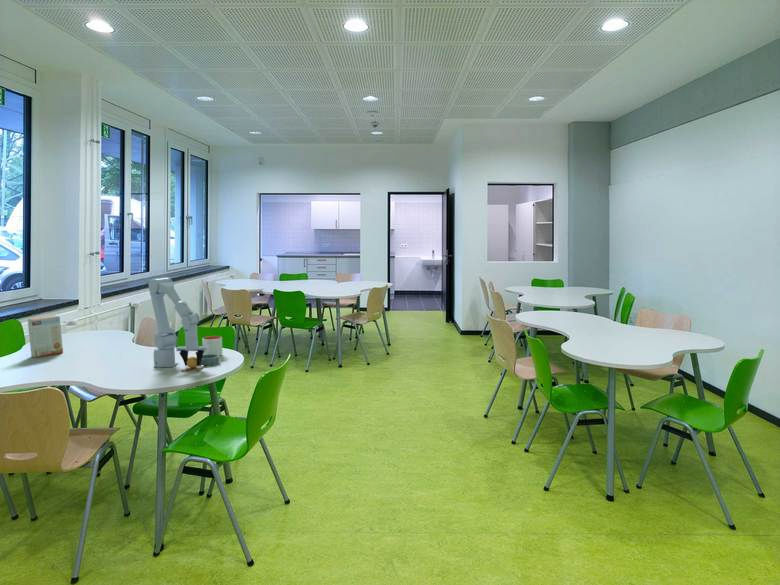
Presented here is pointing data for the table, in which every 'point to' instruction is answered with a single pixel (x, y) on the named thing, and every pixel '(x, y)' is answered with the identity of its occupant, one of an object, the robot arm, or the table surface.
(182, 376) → the table surface
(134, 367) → the table surface
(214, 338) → the cup
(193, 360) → the ball
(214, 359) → the bowl
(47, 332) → the cracker box
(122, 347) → the table surface
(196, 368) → the pad
